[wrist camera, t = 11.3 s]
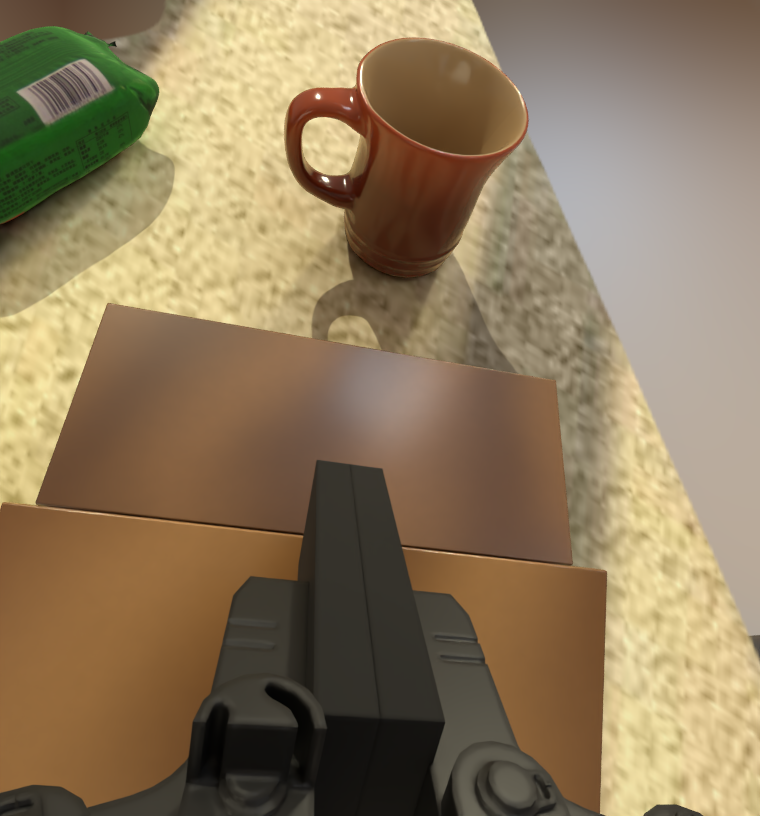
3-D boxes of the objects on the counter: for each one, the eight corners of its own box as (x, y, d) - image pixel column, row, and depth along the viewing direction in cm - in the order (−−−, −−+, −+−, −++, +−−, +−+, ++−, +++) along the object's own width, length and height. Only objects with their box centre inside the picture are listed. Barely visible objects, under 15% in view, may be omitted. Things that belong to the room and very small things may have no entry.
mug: (445, 195, 38) (506, 48, 29) (471, 296, 35) (549, 165, 26) (273, 184, 35) (281, 16, 26) (282, 293, 32) (295, 144, 23)
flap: (599, 568, 15) (607, 570, 14) (590, 830, 14) (599, 840, 13) (9, 502, 12) (1, 501, 12) (-70, 813, 11) (-83, 824, 11)
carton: (451, 478, 29) (557, 378, 19) (450, 767, 23) (601, 841, 13) (160, 438, 26) (106, 300, 17) (76, 750, 21) (-85, 824, 11)
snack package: (187, 134, 35) (178, 54, 31) (-32, 267, 28) (-87, 187, 24) (106, 77, 36) (85, -9, 32) (-128, 192, 29) (-199, 101, 24)
